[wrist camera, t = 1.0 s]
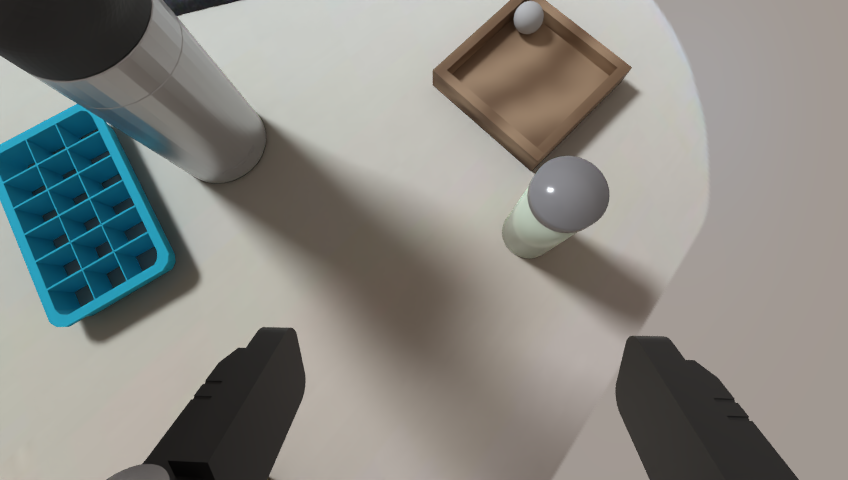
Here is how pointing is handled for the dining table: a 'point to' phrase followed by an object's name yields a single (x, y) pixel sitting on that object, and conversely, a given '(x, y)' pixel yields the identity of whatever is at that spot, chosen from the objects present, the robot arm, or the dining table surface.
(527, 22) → the ball
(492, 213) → the dining table surface
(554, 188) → the shaker
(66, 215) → the ice cube tray
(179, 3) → the dark slate chunk
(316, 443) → the dining table surface
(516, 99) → the tray
